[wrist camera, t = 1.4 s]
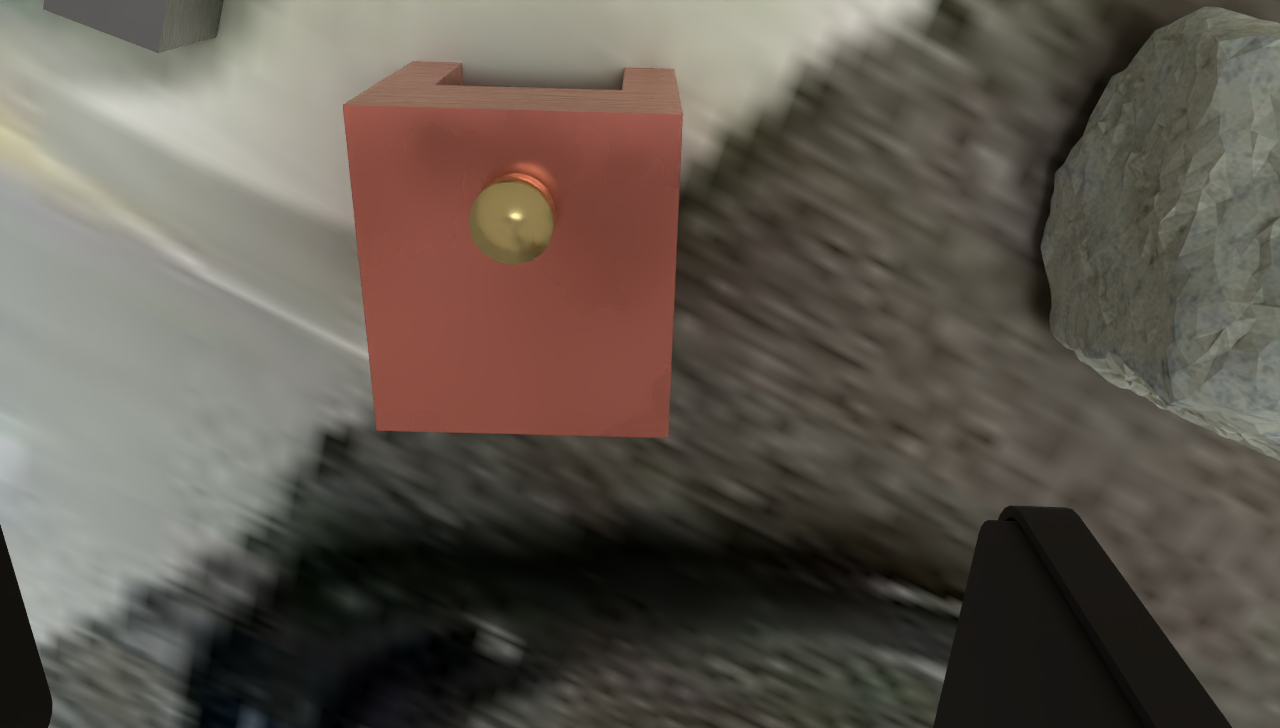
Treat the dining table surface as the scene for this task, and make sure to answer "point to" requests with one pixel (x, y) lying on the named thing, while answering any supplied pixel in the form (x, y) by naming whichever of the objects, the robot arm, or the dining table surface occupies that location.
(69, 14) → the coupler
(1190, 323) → the decorative stone
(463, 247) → the block
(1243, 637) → the dining table surface
